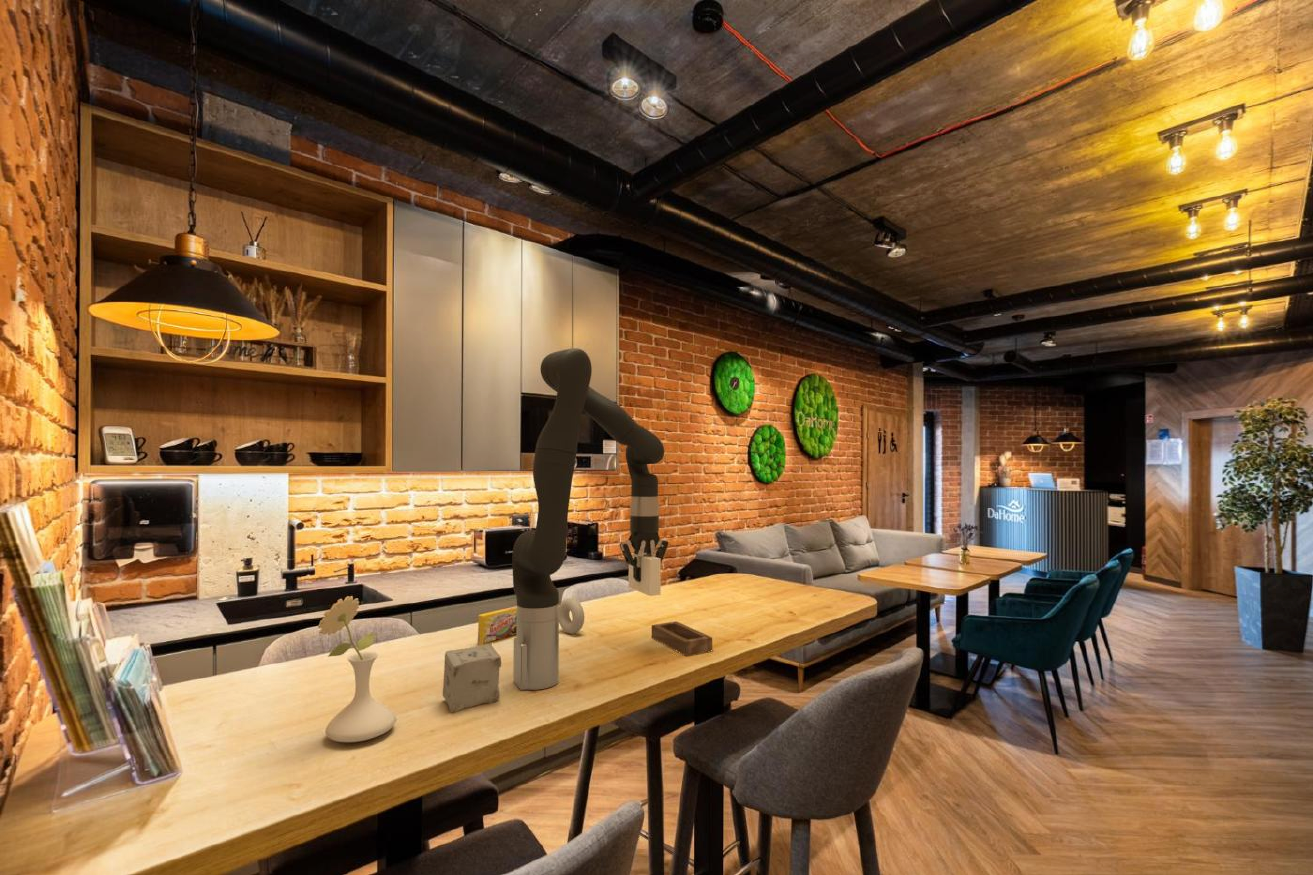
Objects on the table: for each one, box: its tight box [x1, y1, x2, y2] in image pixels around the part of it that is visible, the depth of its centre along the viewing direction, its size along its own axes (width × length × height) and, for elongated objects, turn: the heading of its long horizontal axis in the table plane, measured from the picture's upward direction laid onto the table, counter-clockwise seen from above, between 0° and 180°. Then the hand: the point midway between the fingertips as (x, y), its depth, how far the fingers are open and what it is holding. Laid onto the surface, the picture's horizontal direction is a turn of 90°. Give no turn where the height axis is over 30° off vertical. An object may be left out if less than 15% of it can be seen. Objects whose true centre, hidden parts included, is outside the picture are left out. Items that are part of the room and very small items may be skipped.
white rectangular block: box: [628, 552, 662, 597], centre depth 153 cm, size 3×12×9 cm, turn 29°
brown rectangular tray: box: [651, 621, 713, 657], centre depth 158 cm, size 8×18×4 cm, turn 29°
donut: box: [559, 597, 585, 635], centre depth 168 cm, size 10×4×10 cm, turn 47°
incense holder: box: [442, 644, 502, 714], centre depth 120 cm, size 10×8×10 cm
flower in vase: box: [317, 595, 397, 743], centre depth 106 cm, size 13×11×25 cm
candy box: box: [476, 605, 517, 646], centre depth 163 cm, size 16×2×8 cm, turn 143°
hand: (644, 580), depth 153 cm, fingers closed on white rectangular block, 3 cm apart
